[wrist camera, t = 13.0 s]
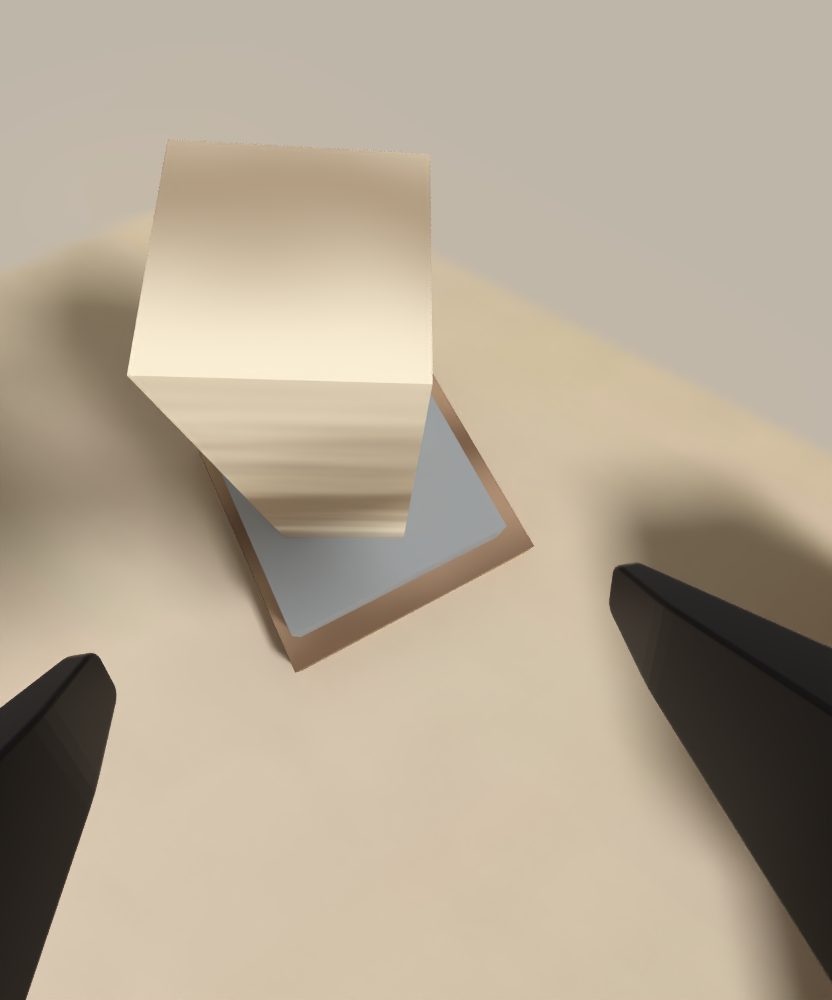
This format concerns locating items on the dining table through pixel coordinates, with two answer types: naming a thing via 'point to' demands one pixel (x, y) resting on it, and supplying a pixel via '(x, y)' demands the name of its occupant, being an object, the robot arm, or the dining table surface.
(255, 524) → the slate slab
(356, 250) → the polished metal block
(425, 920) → the dining table surface
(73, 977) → the dining table surface
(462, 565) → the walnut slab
